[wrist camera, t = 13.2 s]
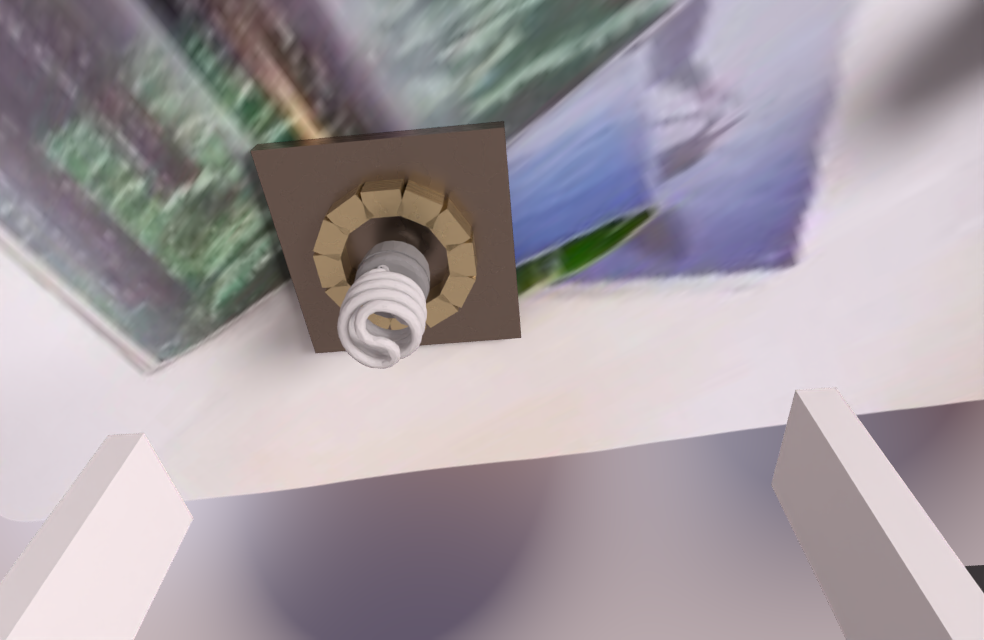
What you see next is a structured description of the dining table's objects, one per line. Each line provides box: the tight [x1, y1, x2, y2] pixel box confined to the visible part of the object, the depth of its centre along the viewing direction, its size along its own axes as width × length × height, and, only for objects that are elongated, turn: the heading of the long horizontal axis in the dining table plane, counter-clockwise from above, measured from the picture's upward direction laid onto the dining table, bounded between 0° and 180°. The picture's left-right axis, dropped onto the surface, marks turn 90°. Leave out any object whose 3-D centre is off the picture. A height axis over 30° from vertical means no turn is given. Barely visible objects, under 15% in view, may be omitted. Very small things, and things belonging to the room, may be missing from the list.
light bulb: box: [337, 240, 430, 369], centre depth 42 cm, size 6×6×12 cm
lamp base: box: [251, 121, 521, 353], centre depth 47 cm, size 18×18×4 cm
